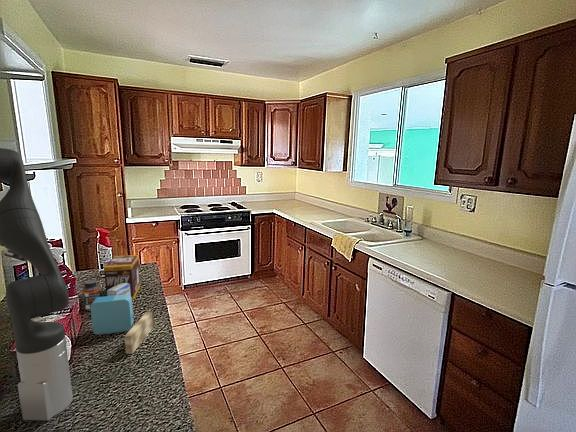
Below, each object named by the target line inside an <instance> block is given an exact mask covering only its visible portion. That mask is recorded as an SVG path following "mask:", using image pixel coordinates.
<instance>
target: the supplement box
mask: <svg viewBox="0 0 576 432" xmlns="http://www.w3.org/2000/svg"><path fill="white" fill-rule="evenodd" d="M103 272H104V284H105V293H106V296H107V290H109V289H111V288H112V287H114V286H116V285H118V284H120V283H128V284H130V293H131V297H132V301H134V299H135V297H136V295H137V294H138V293H139V290H140V287H141V279H140V278H141V277H140V276H141V275H140V262H139V255H138V254H132V255H131V254H130V255H128V254H127V255H114V256H112V258H111V259H110V260H109V261H108V262H107V263H106V264H105V265H104V267H103Z"/></svg>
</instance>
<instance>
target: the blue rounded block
mask: <svg viewBox="0 0 576 432" xmlns="http://www.w3.org/2000/svg"><path fill="white" fill-rule="evenodd" d="M90 309H91V311H90V315H91V316H90V317H91V325H92V332H93V334H94V335H98V336H99V335H107V334H114V333H115V334H116V333H123V332H129V331H130V330H131V328H132V327H133V323H134V311H133V310H134V309H133V300H132V297H131V296H130V295H128V294H125V295H115V296H100V297H97V298H96V299H95V300H94V301H93V303H92V304H91V306H90Z"/></svg>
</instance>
